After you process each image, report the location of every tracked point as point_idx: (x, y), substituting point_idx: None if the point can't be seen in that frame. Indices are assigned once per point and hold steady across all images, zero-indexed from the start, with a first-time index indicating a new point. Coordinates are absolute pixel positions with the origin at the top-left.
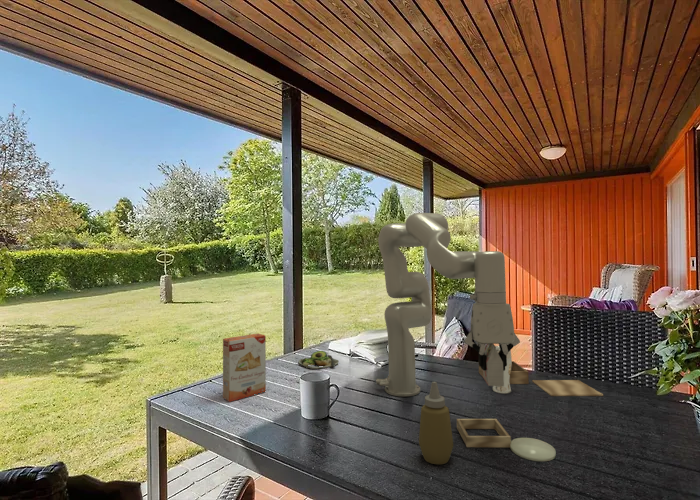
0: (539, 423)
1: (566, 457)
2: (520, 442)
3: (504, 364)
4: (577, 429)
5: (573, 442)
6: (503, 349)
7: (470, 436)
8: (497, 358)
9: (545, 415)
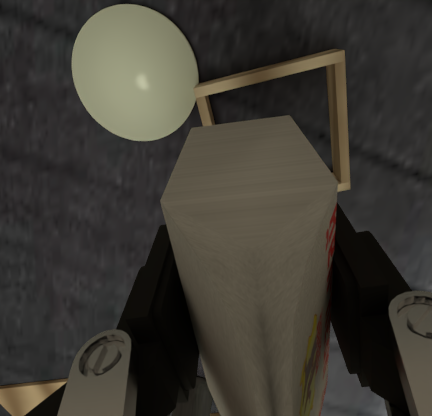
0: (115, 245)
1: (48, 58)
2: (167, 104)
3: (155, 249)
4: (29, 230)
5: (35, 157)
6: (117, 391)
7: (329, 59)
8: (216, 238)
9: (101, 288)
